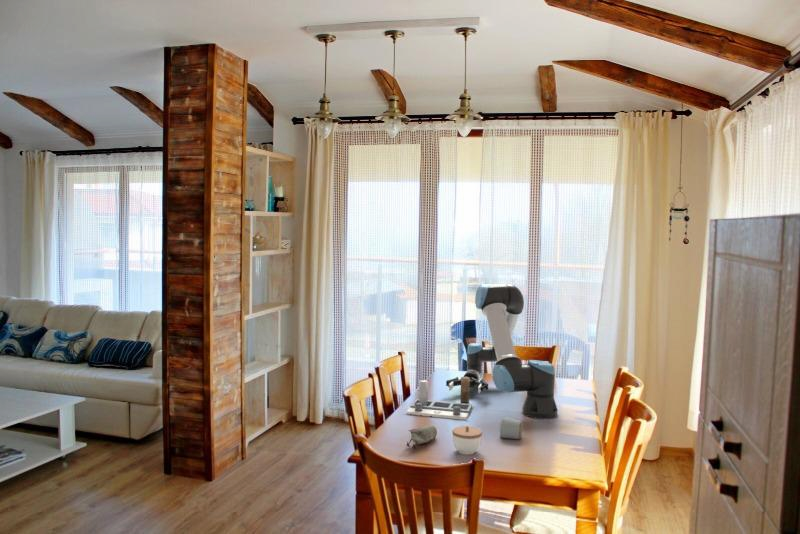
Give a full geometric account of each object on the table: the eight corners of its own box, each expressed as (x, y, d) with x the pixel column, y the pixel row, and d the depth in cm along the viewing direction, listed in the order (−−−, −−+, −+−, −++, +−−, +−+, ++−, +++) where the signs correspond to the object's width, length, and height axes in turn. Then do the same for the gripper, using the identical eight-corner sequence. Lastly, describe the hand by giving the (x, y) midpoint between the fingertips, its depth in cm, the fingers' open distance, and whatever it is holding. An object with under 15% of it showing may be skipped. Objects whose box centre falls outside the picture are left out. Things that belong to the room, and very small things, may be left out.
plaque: (468, 415, 261) (468, 406, 260) (466, 420, 255) (466, 410, 254) (410, 410, 267) (410, 400, 267) (406, 414, 262) (406, 404, 261)
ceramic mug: (520, 442, 229) (521, 422, 229) (499, 439, 231) (500, 420, 231) (523, 433, 239) (523, 414, 239) (502, 431, 241) (503, 412, 241)
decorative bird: (440, 440, 231) (441, 421, 230) (415, 451, 218) (415, 431, 218) (429, 436, 234) (429, 418, 233) (403, 448, 221) (404, 428, 221)
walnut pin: (470, 404, 278) (470, 378, 278) (461, 404, 278) (462, 378, 277) (467, 401, 282) (468, 376, 282) (459, 401, 282) (460, 376, 281)
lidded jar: (486, 450, 220) (486, 425, 220) (473, 459, 211) (474, 433, 211) (460, 444, 226) (460, 419, 225) (446, 452, 217) (447, 427, 216)
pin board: (472, 408, 271) (472, 382, 271) (468, 415, 261) (469, 388, 260) (416, 403, 278) (416, 377, 278) (410, 409, 268) (410, 383, 267)
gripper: (496, 387, 297) (491, 399, 276) (446, 383, 303) (438, 394, 283) (496, 372, 296) (491, 383, 276) (446, 369, 303) (438, 378, 282)
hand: (464, 389), depth 279 cm, fingers open, 13 cm apart
